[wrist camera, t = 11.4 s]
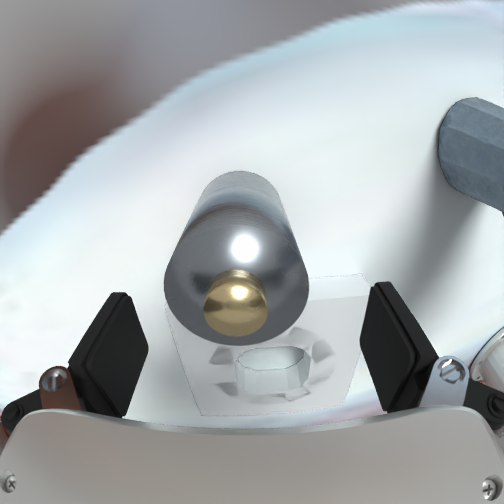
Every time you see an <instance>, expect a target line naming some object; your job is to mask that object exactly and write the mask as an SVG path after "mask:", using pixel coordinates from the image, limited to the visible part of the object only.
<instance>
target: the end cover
mask: <svg viewBox="0 0 504 504" xmlns="http://www.w3.org/2000/svg"><path fill="white" fill-rule="evenodd" d="M164 292H165V298H166V300H167V303H168V306H169V308H170V310H171V312H172V313H173V315H174V316H175V317H176V319H177V320H178V321H179V322H180V323H181V324H182V325H183V326H184V327H185V328H186V329H188V330H189V331H191V332H192V333H193V334H195V335H197V336H199V337H201V338H203V339H205V340H208V341H211V342H214V343H217V344H222V345H230V346H246V345H253V344H258V343H262V342H265V341H268V340H270V339H273V338H275V337H277V336H278V335H280V334H282V333H283V332H285V331H286V330H287V329H289V328H290V327H291V326H292V325H293V324H294V323H295V322H296V321H297V319H298V318H299V317H300V315H301V314H302V312H303V310H304V308H305V306H306V303H307V300H308V295H309V279H308V274H307V271H306V268H305V265H304V262H303V260H302V257H301V254H300V251H299V248H298V246H297V243H296V240H295V237H294V235H293V232H292V229H291V227H290V224H289V221H288V219H287V216H286V213H285V211H284V208H283V205H282V203H281V200H280V198H279V195H278V193H277V191H276V190H275V188H274V187H273V186H272V185H271V184H270V183H269V182H268V181H267V180H266V179H265V178H263V177H261V176H259V175H257V174H255V173H251V172H246V171H234V172H229V173H225V174H223V175H221V176H219V177H217V178H216V179H214V180H213V181H212V182H211V183H210V184H209V185H208V186H207V187H206V188H205V190H204V192H203V193H202V195H201V197H200V199H199V201H198V203H197V205H196V207H195V209H194V211H193V213H192V215H191V217H190V219H189V221H188V223H187V225H186V227H185V229H184V231H183V234H182V236H181V238H180V240H179V242H178V244H177V246H176V248H175V251H174V253H173V255H172V257H171V259H170V261H169V264H168V266H167V269H166V272H165V277H164Z"/></svg>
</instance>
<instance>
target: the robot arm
mask: <svg viewBox="0 0 504 504" xmlns="http://www.w3.org/2000/svg"><path fill="white" fill-rule="evenodd" d="M359 342H360V347H361V350H362V353H363V355H364V358H365V361H366V363H367V366H368V369H369V372H370V374H371V377H372V380H373V383H374V386H375V389H376V392H377V395H378V397H379V400H380V403H381V406H382V409H383V411H387V413H388V414H383V415H378V416H372V417H367V418H361V419H355V420H349V421H342V422H335V423H328V424H319V425H310V426H298V427H284V428H263V429H220V428H199V427H185V426H174V425H164V424H156V423H148V422H141V421H135V420H129V419H122V416H125V415H126V413H127V411H128V408H129V405H130V402H131V399H132V396H133V393H134V390H135V387H136V384H137V382H138V379H139V376H140V373H141V370H142V368H143V365H144V362H145V360H146V357H147V354H148V343H147V341H146V338H145V335H144V333H143V330H142V327H141V324H140V322H139V319H138V316H137V313H136V310H135V307H134V304H133V301H132V298H131V297H130V296H128V295H127V293H125V292H113V293H111V295H110V296H109V297H108V299H107V300H106V302H105V303H104V305H103V306H102V308H101V309H100V311H99V312H98V314H97V316H96V317H95V319H94V320H93V322H92V323H91V325H90V326H89V328H88V330H87V331H86V333H85V334H84V336H83V338H82V339H81V341H80V343H79V344H78V346H77V348H76V349H75V351H74V353H73V354H72V356H71V358H70V359H69V361H68V363H69V367H68V368H65V367H63V366H55V367H51V368H50V369H48V370H46V371H45V372H44V373H43V374H42V376H41V377H40V380H39V389H38V390H36V391H34V392H32V393H30V394H28V395H25V396H23V397H21V398H19V399H17V400H15V401H13V402H11V403H9V404H8V405H7V406H6V407H5V408H4V410H3V412H2V416H1V419H2V420H1V422H0V504H504V328H503V329H501V330H500V331H499V332H498V333H497V334H496V335H495V336H494V337H493V338H492V339H491V340H490V341H489V342H488V343H487V344H486V345H485V346H484V348H483V349H482V350H481V351H480V353H479V354H478V355H477V357H476V359H475V360H474V362H473V364H472V366H471V369H470V375H471V377H472V379H473V380H472V379H470V378H469V370H468V367H467V366H466V364H465V363H464V362H463V361H461V360H460V359H458V358H456V357H453V356H443V357H441V358H439V357H438V355H437V353H436V352H435V350H434V348H433V346H432V345H431V343H430V341H429V340H428V338H427V336H426V335H425V333H424V332H423V330H422V328H421V327H420V325H419V324H418V322H417V320H416V319H415V317H414V316H413V314H412V313H411V312H410V310H409V309H408V307H407V306H406V304H405V303H404V301H403V300H402V298H401V297H400V295H399V294H398V292H397V291H396V289H395V288H394V286H393V285H392V283H391V282H377V283H375V285H374V287H371V288H370V292H369V297H368V302H367V307H366V312H365V317H364V321H363V326H362V330H361V334H360V339H359ZM483 379H484V381H485V383H486V384H487V385H484V384H482V383H479V382H477V381H479V380H483Z"/></svg>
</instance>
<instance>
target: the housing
mask: <svg viewBox="0 0 504 504" xmlns="http://www.w3.org/2000/svg"><path fill="white" fill-rule="evenodd" d="M308 279H309V295H308V300H307V303H306V306H305V308H304V310H303V312H302V314H301V315H300V317H299V318H298V319H297V321H296V322H295V323H294V324H293V325H292V326H291V327H290V328H289V329H287V330H286V331H285V332H283V333H282V334H280V335H278V336H277V337H275V338H273V339H270V340H268V341H265V342H262V343H258V344H253V345H246V346H230V345H222V344H217V343H214V342H211V341H208V340H205V339H203V338H201V337H199V336H197V335H195V334H193V333H192V332H191V331H189V330H188V329H186V328H185V327H184V326H183V325H182V324H181V323H180V322H179V321H178V320H177V319H176V317H175V316H174V315H173V313H172V312H171V310H170V308H169V306H168V303H167V302H166V305H165V307H164V308H165V311H166V315H167V318H168V321H169V325H170V328H171V331H172V335H173V338H174V341H175V344H176V347H177V350H178V353H179V356H180V359H181V362H182V365H183V368H184V371H185V374H186V377H187V380H188V382H189V385H190V388H191V391H192V393H193V396H194V399H195V401H196V404H197V406H198V409H199V411H200V414H201V416H250V415H269V414H282V413H293V412H303V411H311V410H319V409H326V408H333V407H339V406H343V404H344V401H345V399H346V396H347V393H348V390H349V387H350V384H351V381H352V378H353V375H354V371H355V368H356V365H357V362H358V358H359V355H360V351H361V347H360V342H359V339H360V334H361V330H362V326H363V321H364V317H365V312H366V307H367V302H368V297H369V292H370V288H371V287H370V285H369V284H368V282H367V281H366V279H365V277H364V276H363V274H355V275H343V276H330V277H317V278H308ZM283 346H294V347H297V348H300V349H304V356H303V358H302V359H301V360H300V361H299V362H298V363H297V364H295V365H293V366H291V367H288V368H286V369H275V370H259V371H255V370H252V369H249V368H245V367H244V366H243V365H242V364H240V363H239V362H238V361H237V358H238V357H239V355H240V354H242V353H244V352H246V351H249V350H251V349H253V348H269V347H283Z"/></svg>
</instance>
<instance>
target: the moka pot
mask: <svg viewBox="0 0 504 504" xmlns="http://www.w3.org/2000/svg"><path fill="white" fill-rule="evenodd" d="M438 153H439V158H440V164H441V167H442V169H443V172H444V175H445V177H446V180H447V181H448V183H449V184H450V186H452V187H453V188H455V189H456V190H458V191H460V192H462V193H464V194H466V195H468V196H470V197H472V198H474V199H476V200H478V201H481V202H483V203H485V204H487V205H489V206H491V207H494V208H496V209H498V210H500V211H502V214H503V216H504V108H502V107H500V106H497V105H495V104H493V103H491V102H488V101H485V100H483V99H479V98H477V97H475V98H466V99H462V100H460V101H458V102H456V103H455V104H454V105H453V106H452V107H451V109H450V110H449V112H448V113H447V115H446V117H445V118H444V121H443V123H442V126H441V129H440V135H439V150H438Z"/></svg>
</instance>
